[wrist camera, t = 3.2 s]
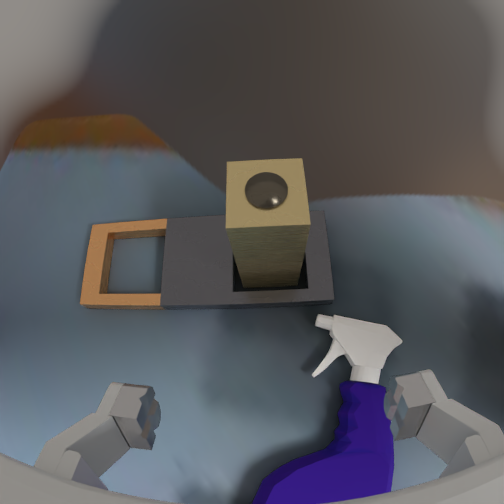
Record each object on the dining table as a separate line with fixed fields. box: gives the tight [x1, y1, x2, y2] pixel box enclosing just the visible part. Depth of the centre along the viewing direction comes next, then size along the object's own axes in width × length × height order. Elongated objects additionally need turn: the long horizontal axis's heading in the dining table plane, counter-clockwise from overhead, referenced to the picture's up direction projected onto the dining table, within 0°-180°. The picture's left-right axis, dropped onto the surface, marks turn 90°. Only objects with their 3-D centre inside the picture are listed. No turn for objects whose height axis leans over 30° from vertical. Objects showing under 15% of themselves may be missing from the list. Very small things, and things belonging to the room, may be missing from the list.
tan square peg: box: [226, 158, 311, 288], centre depth 23 cm, size 4×4×11 cm
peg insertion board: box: [80, 211, 334, 310], centre depth 28 cm, size 22×8×2 cm, turn 91°
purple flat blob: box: [252, 314, 403, 504], centre depth 20 cm, size 3×11×24 cm
